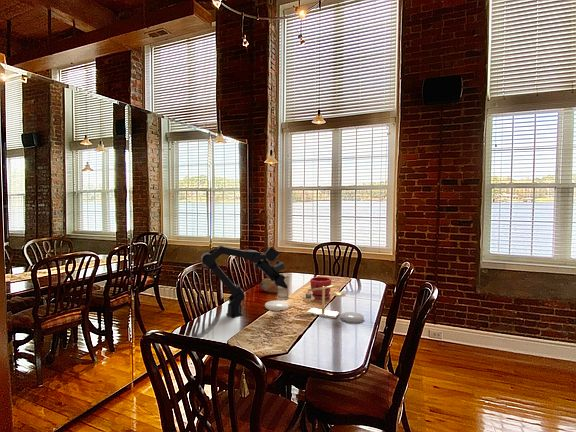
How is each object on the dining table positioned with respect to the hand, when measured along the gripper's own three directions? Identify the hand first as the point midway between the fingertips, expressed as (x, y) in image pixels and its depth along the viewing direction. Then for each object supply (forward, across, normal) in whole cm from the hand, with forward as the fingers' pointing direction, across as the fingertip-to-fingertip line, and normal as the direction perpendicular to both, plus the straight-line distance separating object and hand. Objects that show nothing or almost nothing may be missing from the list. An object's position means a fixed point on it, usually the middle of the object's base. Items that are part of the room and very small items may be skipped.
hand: (285, 286), depth 196 cm
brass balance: (+22, -12, -3) cm, 26 cm away
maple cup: (+4, 0, +6) cm, 7 cm away
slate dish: (+30, -23, -12) cm, 40 cm away
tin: (+12, +38, +8) cm, 41 cm away
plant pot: (+30, +17, -11) cm, 36 cm away
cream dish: (+8, +6, +11) cm, 15 cm away
